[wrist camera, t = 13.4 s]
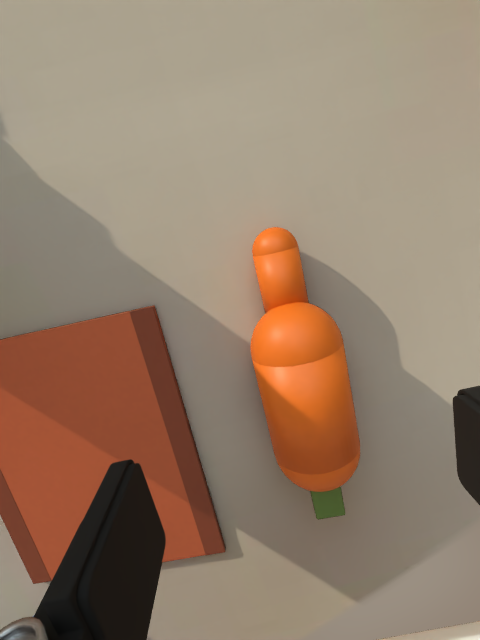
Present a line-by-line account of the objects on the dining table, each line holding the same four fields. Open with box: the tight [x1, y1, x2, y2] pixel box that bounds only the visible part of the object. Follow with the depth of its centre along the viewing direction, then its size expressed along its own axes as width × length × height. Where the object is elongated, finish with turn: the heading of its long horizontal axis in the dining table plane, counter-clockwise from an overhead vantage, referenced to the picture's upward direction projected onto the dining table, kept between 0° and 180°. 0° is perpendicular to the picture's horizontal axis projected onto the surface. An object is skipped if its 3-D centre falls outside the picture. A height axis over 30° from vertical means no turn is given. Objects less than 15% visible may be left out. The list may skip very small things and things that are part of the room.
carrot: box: [251, 227, 360, 519], centre depth 16 cm, size 14×4×4 cm, turn 13°
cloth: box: [0, 305, 226, 584], centre depth 19 cm, size 15×12×1 cm
